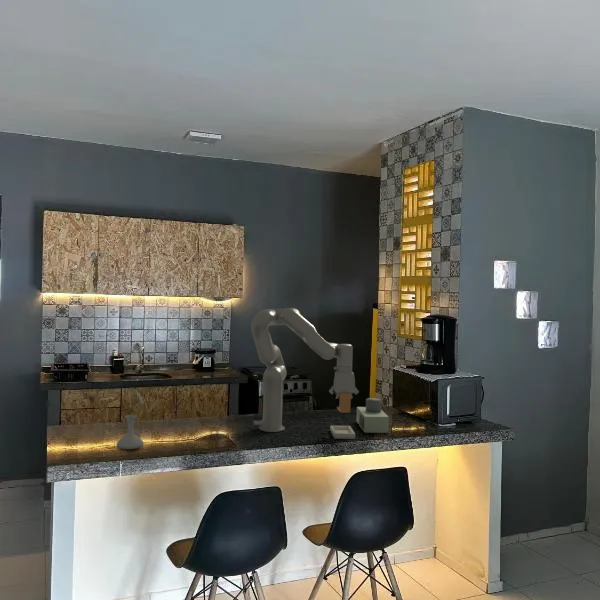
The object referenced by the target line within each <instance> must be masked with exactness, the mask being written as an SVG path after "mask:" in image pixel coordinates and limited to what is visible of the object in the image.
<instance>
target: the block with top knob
mask: <svg viewBox="0 0 600 600" xmlns="http://www.w3.org/2000/svg"><path fill="white" fill-rule="evenodd" d="M389 421H390V416H389V415H387V414H386V413H385V412H384V410H382V399H380V398H378V397H377V398H375V397H368V398H366V399H365V406H357V407H356V423H357V424H359V425H358V426H359V427H360V429H361V430H362V431H363V432H364V434H365V433H371V434H372V433H373V434H374V433H378V434H381V433H382V434H383V433H384V434H389V428H390V427H389V426H390V425H389V424H390V423H389Z"/></svg>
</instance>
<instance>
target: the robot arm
mask: <svg viewBox="0 0 600 600" xmlns="http://www.w3.org/2000/svg"><path fill="white" fill-rule="evenodd" d="M270 326H271V327H272V326H286V327H288V328H289V329H290V330H291V331H292V332H293V333H295V335H297V336H298V337H299V338H300V339H302V341H303V342H304V343H305V344H306V345H307V346H308V347H309V348H310V349H311V350H312V351H313V352H314V353H316V354H317V355H318V356H319V357H321V358H322V359H323V360H327V361H328V360H332V359H335V358H336V366H333V370H334V371H335V372H334V377H333V385H332V386H331V387H330V389H329V390H328V392H329V393H330V394H331V395H332V396H333V397H334V398H335V406H336V408H337V407H339V393H350V394H351V406H352V403H353V401H352V400H353V398H354V397H355V396H356V395H358V394H359V393H360V391H359V389H358V388H357V387H356V379H355V378H356V377H355V373H354V372H353V350H354V349H353V348H354V347H353V345H352V344H350V343H335V342H328V341H327V340H325V339H324V338H323V337H322V336H321V335H320V334H319V333H318V332H317V329H316V327H315V326H314V324H312V323H310V321H308V320H307V319H306V318H305V317H304V316H303V315H301V312H300V310H298V309H297V308H295V307H288V308H287V307H286V308H285V307H284V308H267V309H262V310H260V311H259V312H257V314H255V315H254V317H253V319H252V321H251V326H250V327H251V328H250V330H251V334H252V337H253V341H254V345H255V348H256V352H257V354H258V355H257V356H258V359H259V361H260V362H261V363H262V364H265V366H266V369H265V370H264V372H263V375H262V383H263V384H262V385H263V394H262V395H263V397H262V398H263V400H262V401H263V402H262V403H263V405H262V419H261V420H253V426H254V425H255V426H258V427H259V428H258V429H259V430H260V431H263V432H266V433H267V432H268V433H278V432H282V431H285V429H286V427H285V426H284V425H283V423H282V422H283V400H284V399H283V393H284V392H283V390H284V389H283V381H284V380H285V379H286V377H287V374H288V373H287V368H286V365H285V361H284V358H283V355H282V352H281V349H280V348H279V347H278V345H276V344H274V343H273V340H272V335H271V333H270V331H269V327H270Z"/></svg>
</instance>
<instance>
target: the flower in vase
mask: <svg viewBox="0 0 600 600" xmlns="http://www.w3.org/2000/svg"><path fill="white" fill-rule="evenodd" d="M133 392H134V396H135V399H134V401H133V403H132V406H131V408H129V409H128V411H127V413H130V414H126V415H124V417H125V419H126V422H127V432H126V433H125V435H123V437H121V438H120V439H119V440H118V441H117V442H116V447H117V448H119V449H121V450H135V449H139V448H141V447H143V446H144V444H145V443H144V441H143V440H142V438H140V437H139V436H138V435H136V434H135V432H134V423H135V420H136V418H137V415H136V414H133V413H134V412H137V410H138V409H137V407H136V406H135V402H136V401H137V402H138V403H139V405H141V406H144V404H145V402H144V399H143V397H142V395H141V393H140V392H138V388H137V389H136V388H135V389H134V390H133Z"/></svg>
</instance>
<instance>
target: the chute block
mask: <svg viewBox="0 0 600 600" xmlns="http://www.w3.org/2000/svg"><path fill="white" fill-rule="evenodd" d="M351 406H352V405H351V394H350V393H339V407H337V406H336V409H337V410H338V411H339V413H342V414H343V413H344V414H345V413H346V414H347V413H351Z"/></svg>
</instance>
